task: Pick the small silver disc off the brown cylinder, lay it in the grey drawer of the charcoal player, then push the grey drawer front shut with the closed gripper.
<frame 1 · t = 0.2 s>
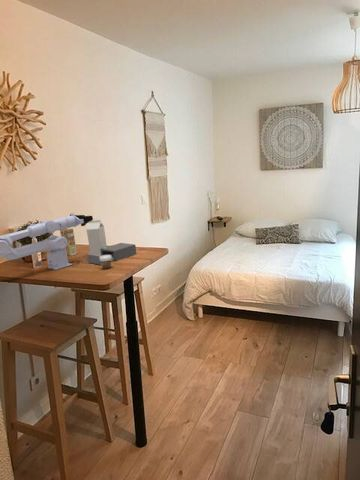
hand: (88, 217, 202), 22 cm above the table, tool horizontal, fingers open, 7 cm apart
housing: (119, 256, 203), on the table
brown cylinder: (106, 267, 183), on the table
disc: (105, 259, 182), point 4 cm above the table, touching brown cylinder
candy box: (70, 254, 219), on the table
grey drawer: (105, 256, 196), point 2 cm above the table, slide at 7.0 cm
milk carton: (99, 254, 212), on the table
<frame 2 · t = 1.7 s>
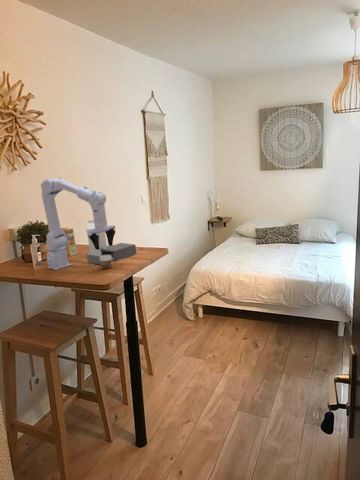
hand: (104, 247, 181), 10 cm above the table, tool pointing down, fingers open, 7 cm apart
nothing on the table moved.
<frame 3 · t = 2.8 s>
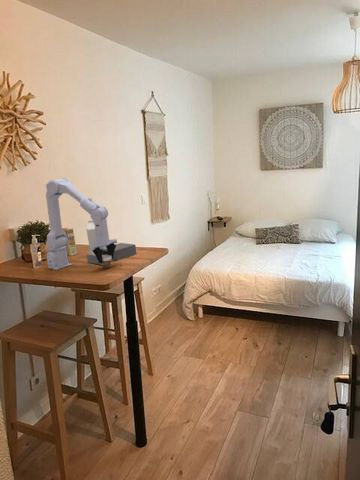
hand: (106, 261, 182), 3 cm above the table, tool pointing down, fingers closed on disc, 6 cm apart
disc: (105, 259, 182), point 4 cm above the table, touching gripper, brown cylinder
everything else where it was.
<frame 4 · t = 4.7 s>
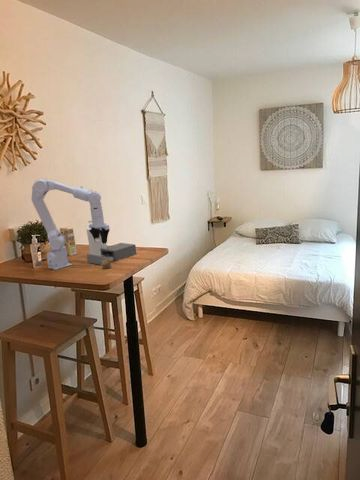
hand: (101, 242, 194), 10 cm above the table, tool pointing down, fingers closed on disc, 6 cm apart
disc: (101, 241, 194), point 10 cm above the table, touching gripper
everything else where it was.
when the fingers open (2 cm above the table, at t = 6.5 s): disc drops 2 cm, resting on grey drawer.
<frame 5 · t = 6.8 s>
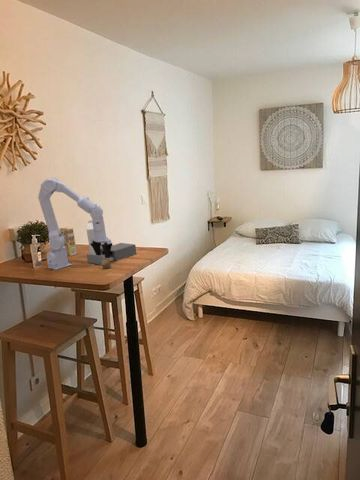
hand: (103, 256, 195), 2 cm above the table, tool pointing down, fingers open, 7 cm apart
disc: (103, 258, 196), point 1 cm above the table, touching grey drawer
grey drawer: (105, 256, 196), point 2 cm above the table, slide at 7.0 cm, touching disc
everything else where it was.
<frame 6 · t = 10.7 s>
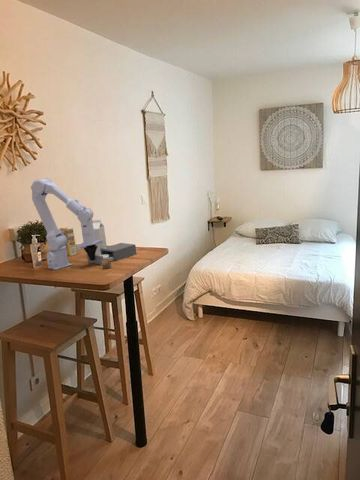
hand: (92, 260, 191), 2 cm above the table, tool pointing down, fingers closed
grey drawer: (105, 256, 196), point 2 cm above the table, slide at 6.9 cm, touching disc, gripper
everything else where it was.
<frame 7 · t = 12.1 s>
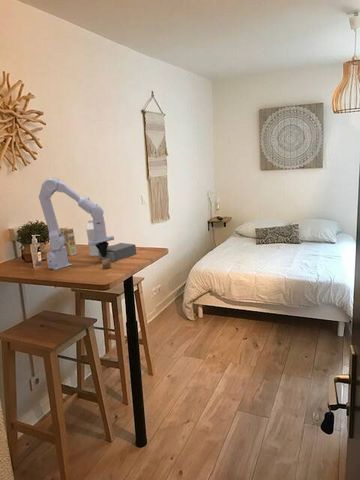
hand: (103, 256, 196), 2 cm above the table, tool pointing down, fingers closed
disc: (114, 255, 201), point 1 cm above the table, touching grey drawer
grey drawer: (116, 252, 201), point 2 cm above the table, slide at 0.0 cm, touching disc, gripper
everything else where it was.
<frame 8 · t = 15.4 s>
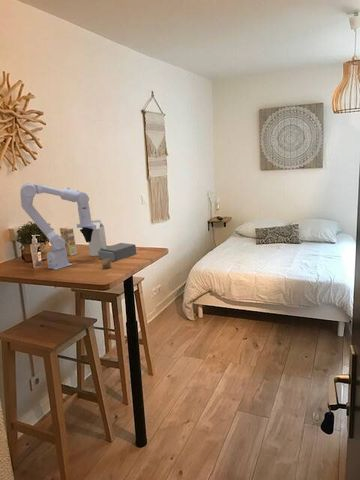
hand: (88, 241, 198), 10 cm above the table, tool pointing down, fingers closed
grey drawer: (116, 252, 201), point 2 cm above the table, slide at 0.0 cm, touching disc
everything else where it was.
at the end: grey drawer slide at 0.0 cm; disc inside the target area on the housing (2.9 cm from its centre), point 1.2 cm above the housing's base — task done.
